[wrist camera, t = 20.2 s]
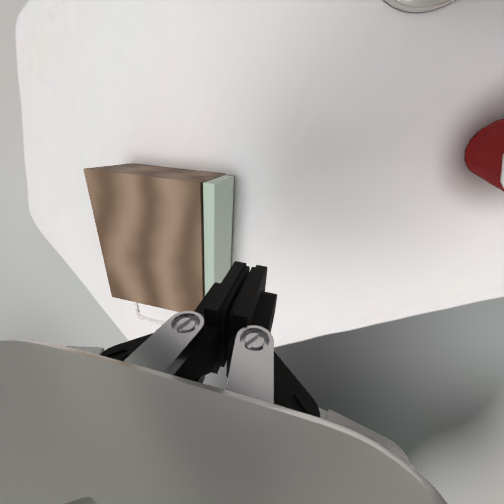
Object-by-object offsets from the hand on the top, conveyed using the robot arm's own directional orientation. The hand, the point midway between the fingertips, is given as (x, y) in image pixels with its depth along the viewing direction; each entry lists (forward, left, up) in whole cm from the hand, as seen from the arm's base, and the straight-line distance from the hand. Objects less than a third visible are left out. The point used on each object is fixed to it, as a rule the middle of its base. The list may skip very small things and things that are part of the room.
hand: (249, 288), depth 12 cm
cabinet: (+18, +8, -25) cm, 32 cm away
